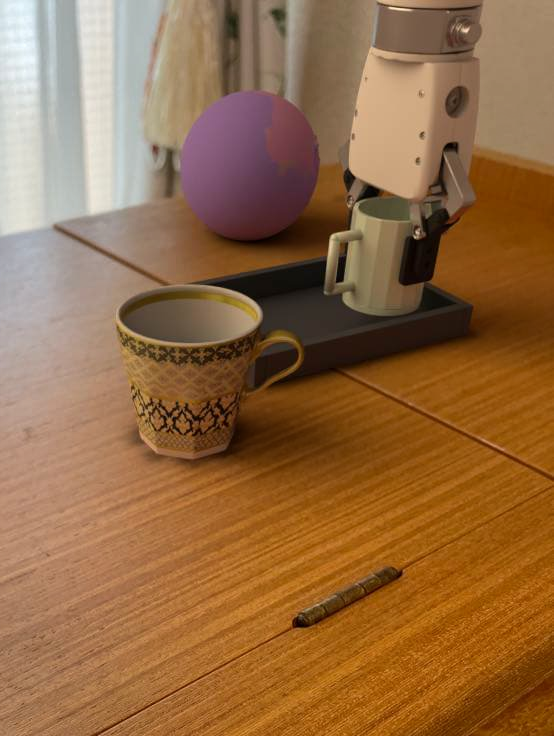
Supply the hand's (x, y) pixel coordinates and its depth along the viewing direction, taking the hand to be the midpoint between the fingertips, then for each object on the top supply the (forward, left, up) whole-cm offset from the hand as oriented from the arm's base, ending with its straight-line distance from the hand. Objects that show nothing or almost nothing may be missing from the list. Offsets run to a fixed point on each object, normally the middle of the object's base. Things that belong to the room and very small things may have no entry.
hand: (386, 265), depth 75 cm
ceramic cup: (+23, +10, -6) cm, 26 cm away
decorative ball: (-2, -27, -6) cm, 28 cm away
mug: (+2, 0, -3) cm, 3 cm away
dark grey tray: (+5, -3, -6) cm, 8 cm away
